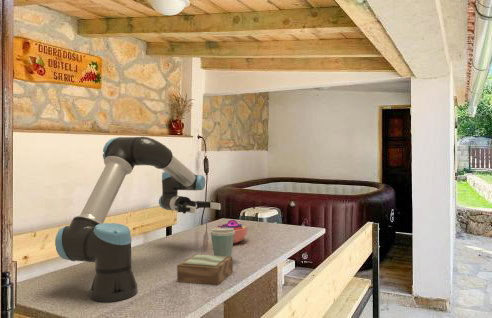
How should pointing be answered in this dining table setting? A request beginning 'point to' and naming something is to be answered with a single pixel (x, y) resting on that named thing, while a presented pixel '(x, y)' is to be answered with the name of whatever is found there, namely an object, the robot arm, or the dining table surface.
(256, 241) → the dining table surface
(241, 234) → the cell model
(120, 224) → the robot arm
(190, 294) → the dining table surface
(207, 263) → the walnut stand
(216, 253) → the disposable coffee cup
